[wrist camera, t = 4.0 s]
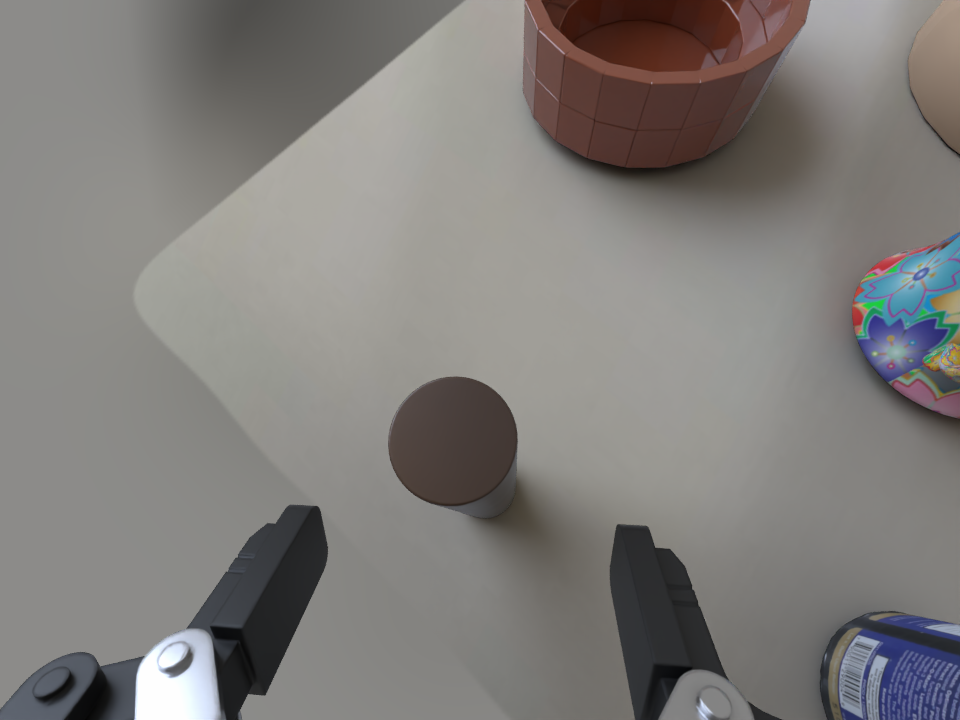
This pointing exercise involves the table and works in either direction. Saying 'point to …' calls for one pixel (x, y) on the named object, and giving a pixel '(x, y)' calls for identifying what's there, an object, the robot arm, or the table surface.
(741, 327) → the table surface
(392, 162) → the table surface
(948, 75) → the alarm clock
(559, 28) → the bowl
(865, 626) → the pill bottle
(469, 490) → the stick
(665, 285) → the table surface
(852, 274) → the table surface
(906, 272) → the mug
